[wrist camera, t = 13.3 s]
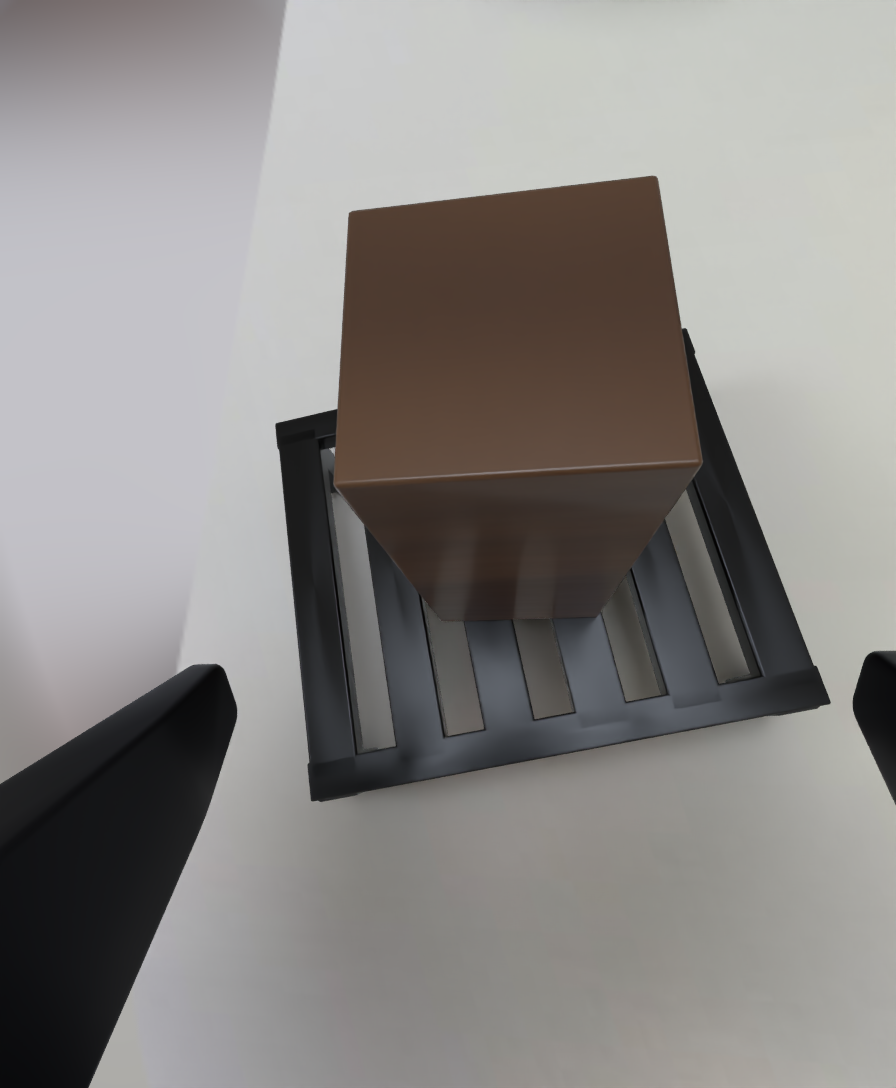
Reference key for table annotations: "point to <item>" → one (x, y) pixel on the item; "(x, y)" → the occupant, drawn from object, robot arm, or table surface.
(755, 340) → the table surface
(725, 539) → the rack
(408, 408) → the walnut block
